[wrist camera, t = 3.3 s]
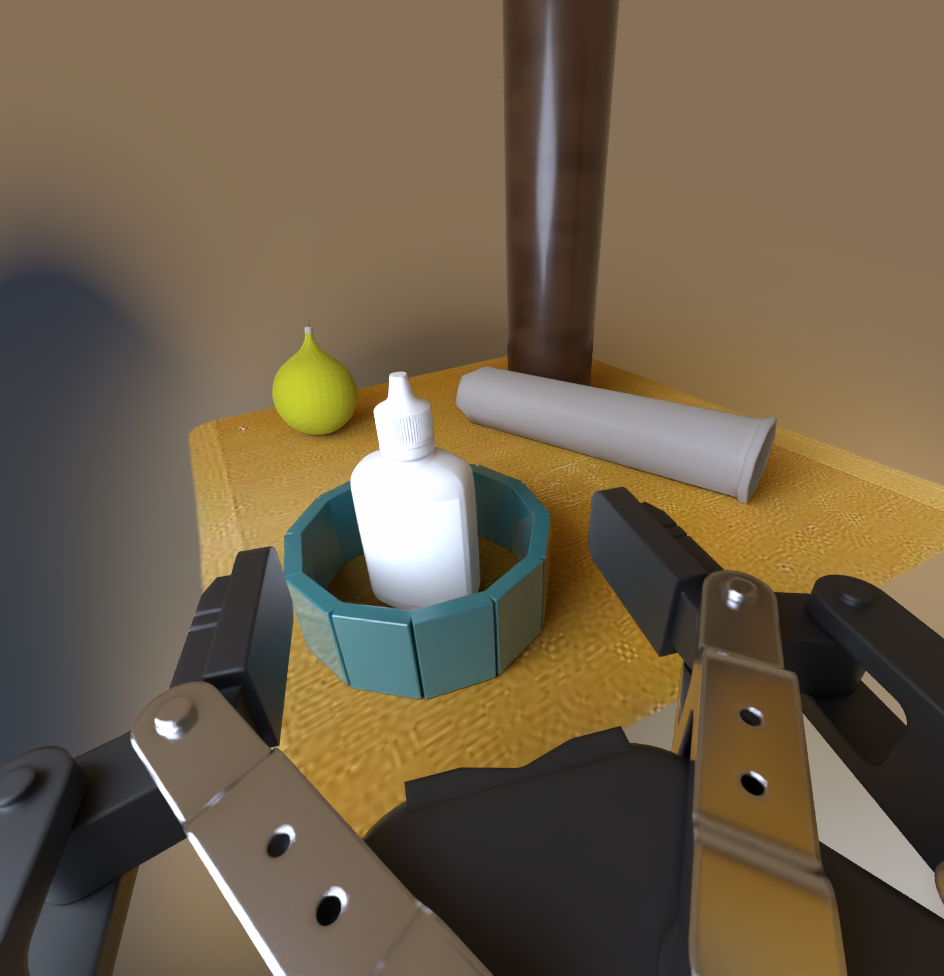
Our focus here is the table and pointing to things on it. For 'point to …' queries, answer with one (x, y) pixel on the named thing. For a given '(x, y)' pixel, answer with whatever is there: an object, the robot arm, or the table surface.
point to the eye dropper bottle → (415, 508)
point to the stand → (555, 178)
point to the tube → (624, 428)
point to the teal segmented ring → (428, 630)
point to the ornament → (314, 390)
